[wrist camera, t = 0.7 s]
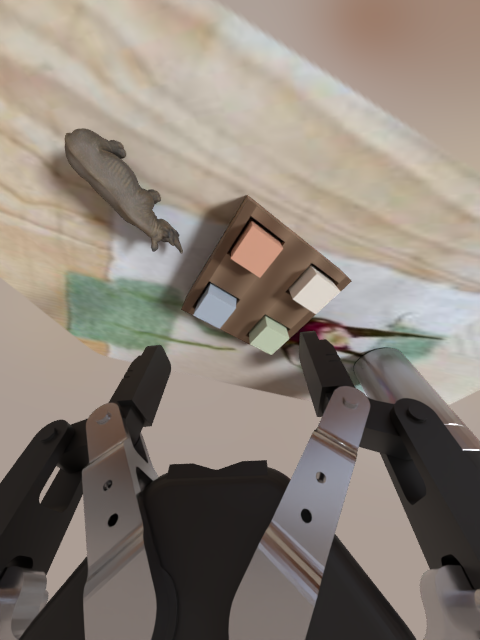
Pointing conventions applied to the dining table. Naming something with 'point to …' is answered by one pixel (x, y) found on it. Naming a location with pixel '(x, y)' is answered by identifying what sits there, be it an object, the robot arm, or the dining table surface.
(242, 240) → the salmon orange cube
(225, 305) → the slate key
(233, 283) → the keypad
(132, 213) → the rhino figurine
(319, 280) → the offwhite key
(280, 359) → the dining table surface
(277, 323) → the sage key
